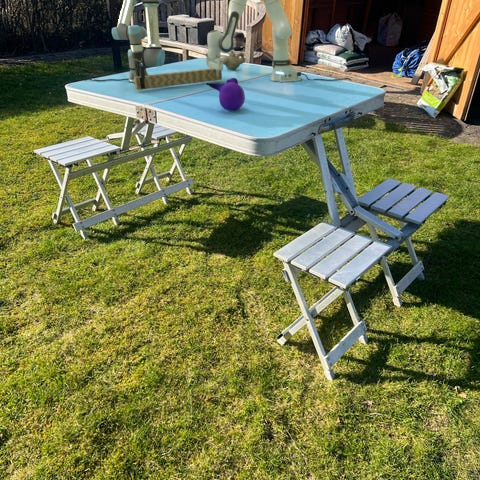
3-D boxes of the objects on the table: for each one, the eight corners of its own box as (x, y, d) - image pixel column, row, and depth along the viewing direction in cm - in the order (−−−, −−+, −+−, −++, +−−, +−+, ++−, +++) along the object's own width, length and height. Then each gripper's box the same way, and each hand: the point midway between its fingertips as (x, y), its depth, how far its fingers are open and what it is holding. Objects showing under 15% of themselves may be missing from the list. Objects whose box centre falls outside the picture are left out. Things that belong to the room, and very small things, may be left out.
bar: (137, 90, 304) (135, 77, 300) (135, 88, 307) (133, 76, 303) (221, 79, 330) (221, 68, 326) (219, 78, 334) (218, 67, 329)
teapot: (225, 72, 364) (224, 52, 356) (218, 70, 372) (217, 50, 365) (247, 69, 373) (247, 50, 365) (240, 67, 381) (240, 48, 374)
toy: (230, 101, 277) (244, 117, 257) (203, 96, 270) (216, 112, 249) (236, 75, 269) (252, 89, 249) (209, 70, 262) (222, 84, 241)
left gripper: (147, 52, 290) (151, 89, 302) (138, 49, 303) (143, 84, 315) (135, 53, 287) (140, 91, 299) (127, 50, 300) (132, 86, 312)
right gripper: (224, 56, 315) (225, 76, 322) (212, 53, 331) (213, 72, 338) (216, 57, 312) (217, 78, 319) (204, 53, 328) (205, 73, 335)
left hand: (141, 87), depth 307 cm, fingers closed on bar, 4 cm apart
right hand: (215, 75), depth 329 cm, fingers closed on bar, 4 cm apart
